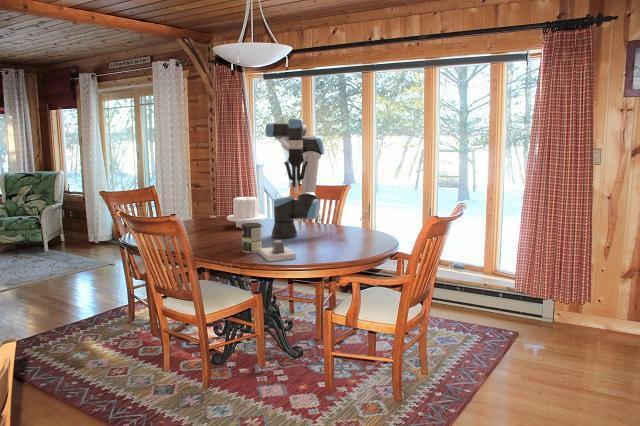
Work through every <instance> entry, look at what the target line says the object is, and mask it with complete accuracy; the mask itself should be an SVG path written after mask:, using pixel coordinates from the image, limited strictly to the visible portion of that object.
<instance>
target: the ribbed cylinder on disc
mask: <svg viewBox="0 0 640 426" xmlns="http://www.w3.org/2000/svg"><path fill="white" fill-rule="evenodd" d="M232 199H233V200H232V209H233V214H229V215H227V216H226V220H228V221H229V222H235V227H236V228H238V227H239V229H242V226H241V225H242V224H245V223H258V222H259V221H263V220H265V219H266V215H265V214H262V213H260V211H259V210H260V207H259V206H260V204H259V201H260V200H259V198H258V197H255V196H237V197H234V198H232Z"/></svg>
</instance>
